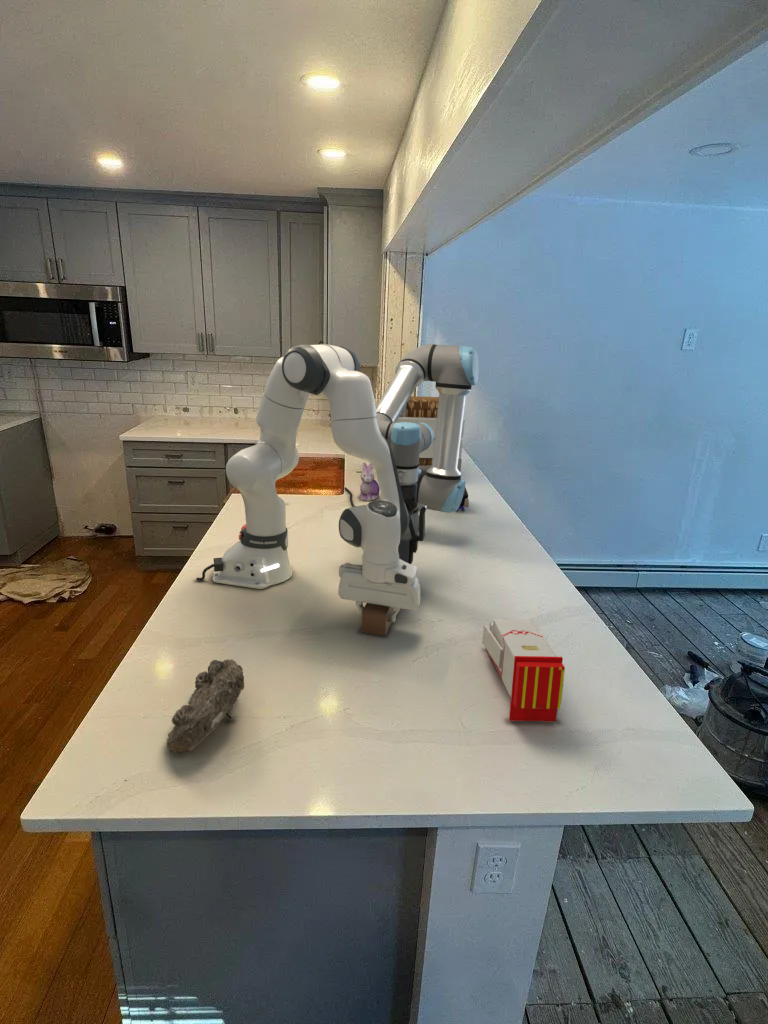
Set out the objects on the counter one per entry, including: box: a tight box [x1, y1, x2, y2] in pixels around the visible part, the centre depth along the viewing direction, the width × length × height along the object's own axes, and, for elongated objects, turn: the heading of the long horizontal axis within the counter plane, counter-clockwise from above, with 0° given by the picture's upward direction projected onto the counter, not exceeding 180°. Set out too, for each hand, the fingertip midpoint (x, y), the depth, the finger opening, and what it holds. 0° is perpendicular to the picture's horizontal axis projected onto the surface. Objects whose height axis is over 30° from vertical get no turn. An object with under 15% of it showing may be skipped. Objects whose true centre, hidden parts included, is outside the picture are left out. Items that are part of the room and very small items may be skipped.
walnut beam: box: [360, 564, 413, 637], centre depth 151 cm, size 30×6×6 cm, turn 166°
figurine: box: [359, 462, 380, 502], centre depth 233 cm, size 9×10×15 cm
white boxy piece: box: [396, 395, 465, 474], centre depth 268 cm, size 34×33×41 cm
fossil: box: [166, 658, 245, 754], centre depth 106 cm, size 22×10×15 cm
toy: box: [481, 618, 566, 722], centre depth 122 cm, size 12×13×30 cm
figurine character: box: [455, 486, 470, 512], centre depth 229 cm, size 7×8×15 cm
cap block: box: [398, 532, 412, 563], centre depth 158 cm, size 6×6×10 cm
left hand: (378, 618), depth 141 cm, fingers closed on walnut beam, 6 cm apart
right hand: (398, 560), depth 159 cm, fingers closed on cap block, 6 cm apart
